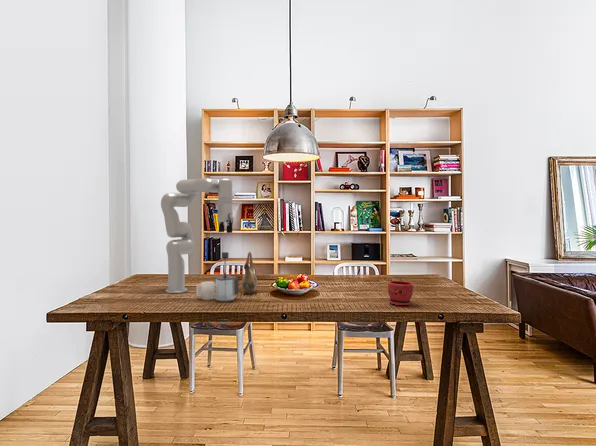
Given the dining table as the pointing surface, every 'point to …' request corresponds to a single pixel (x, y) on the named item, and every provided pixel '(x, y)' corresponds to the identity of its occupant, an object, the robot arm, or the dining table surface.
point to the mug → (206, 290)
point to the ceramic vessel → (249, 276)
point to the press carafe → (226, 288)
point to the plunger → (224, 255)
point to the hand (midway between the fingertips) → (225, 232)
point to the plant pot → (400, 292)
